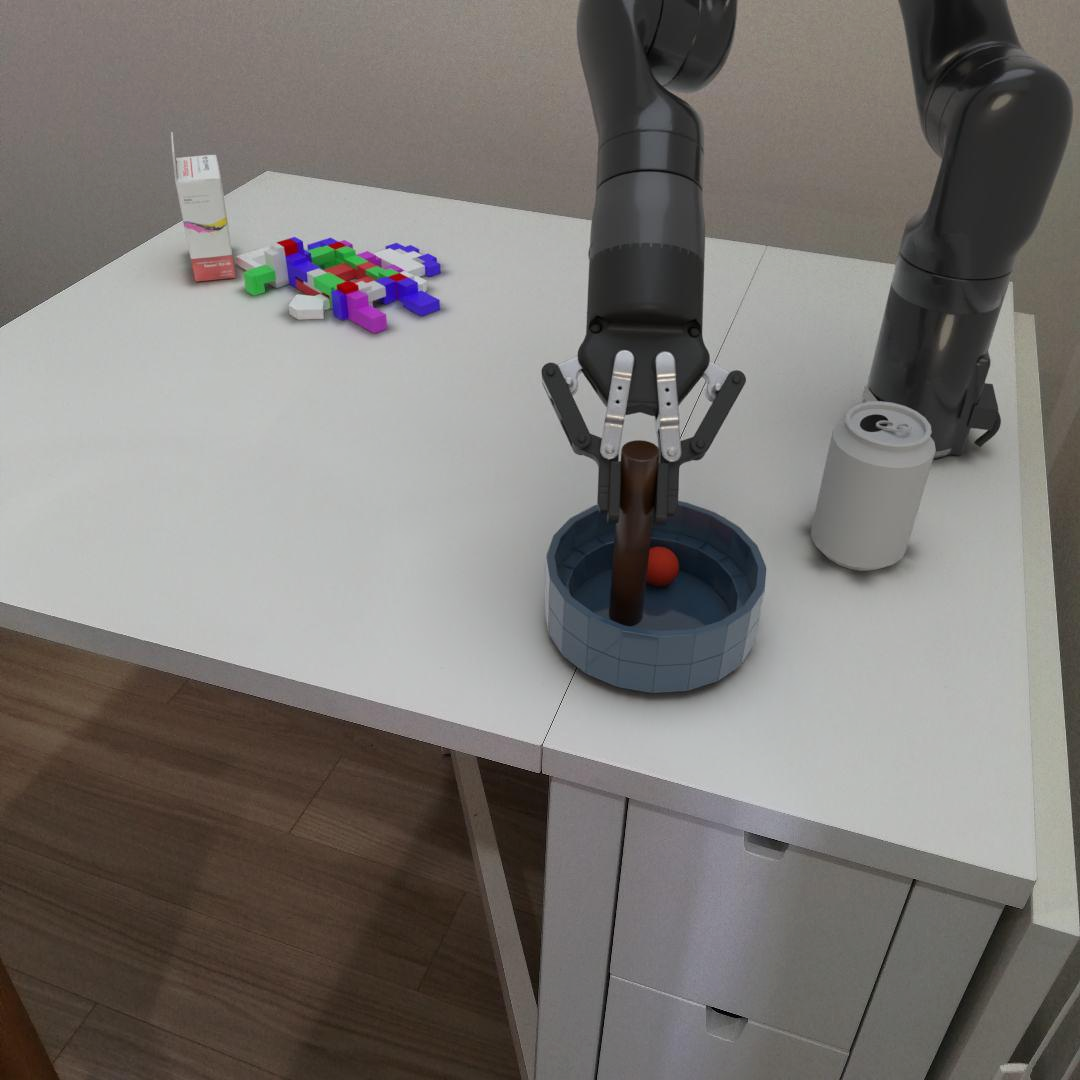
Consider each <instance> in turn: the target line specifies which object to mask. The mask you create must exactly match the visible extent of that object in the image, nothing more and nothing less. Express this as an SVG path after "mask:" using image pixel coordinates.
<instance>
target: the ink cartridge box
mask: <svg viewBox="0 0 1080 1080" xmlns="http://www.w3.org/2000/svg"><path fill="white" fill-rule="evenodd" d="M170 142H171V155H172V156H171V157H172V164H173V175H174V181H175V188H176V192H177V198H178V203H179V207H180V213H181V217H182V223H183V227H184V234H185V238H186V244H187V248H188V252H189V257H190V262H191V268H192V272H193V277H194V281H195V282H205V281H215V280H223V279H224V280H225V279H236V278H237V274H236V268H235V262H234V256H233V249H232V243H231V235H230V229H229V222H228V214H227V209H226V202H225V195H224V190H223V189H224V187H223V181H222V175H221V171H220V166H219V162H218V157H217V155H216V154H206V155H195V156H193V155H192V156H183V157H176V155H175V144H174V133H173V131H171V132H170Z"/></svg>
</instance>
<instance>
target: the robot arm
mask: <svg viewBox="0 0 1080 1080" xmlns="http://www.w3.org/2000/svg"><path fill="white" fill-rule="evenodd" d="M897 2H898V5H899V9H900V13H901V17H902V22H903V27H904V32H905V39H906V46H907V51H908V57H909V64H910V71H911V78H912V84H913V85H912V86H913V91H914V92H913V93H914V98H915V105H916V111H917V117H918V121H919V126H920V129H921V132H922V134H923V137H924V139H925V141H926V143H927V144H928V145H929V147H930V148H931V150H932V151H933V152H934V153H935V154H936V155H937V156H938V157H939V158H940V159H941V161H940V162H941V163H940V167H939V170H938V172H937V173H938V174H937V177H936V180H935V184H934V187H933V191H932V194H931V197H930V200H929V204H928V205H927V207H925V208H922V209H920V210H918V211H916V212H915V213H913V214H911V216H910V217H909V218H908V219H907V221H906V223H905V226H904V229H903V232H902V237H901V240H900V245H899V250H898V253H897V258H896V262H895V266H894V269H893V270H894V271H893V273H892V279H891V283H890V288H889V291H888V294H887V295H888V296H887V300H886V303H885V308H884V312H883V316H882V321H881V325H880V328H879V333H878V337H877V342H876V345H875V350H874V354H873V359H872V363H871V367H870V371H869V375H868V379H867V384H864V389H863V393H862V399H863V400H862V403H865V402H874V401H882V402H890V403H896V404H899V405H903V406H906V407H908V408H910V409H913V410H915V411H917V412H918V413H919V414H921V415H922V416H924V417H925V418H926V420H927V421H928V422H929V424H930V425H931V431H932V433H931V435H930V437H931V438H932V439H933V441H934V442H935V449H936V451H935V454H934V458H933V459H937V458H942V457H946V456H948V455H954V456H963V453H964V449H965V446H966V443H967V440H968V437H969V434H970V430H971V429H977V430H985V432H984V433H983V434H982V435H980V436H979V437H977V438H976V439H975V440H974V441H973V443H974V444H975V446H977V447H979V448H982V446H983V445H985V444H986V443H987V442H989V441H990V440H991V439H992V438H993V437H994V436H995V435H996V434H997V433H998V432H999V429H1000V427H1001V424H1002V418H1001V414H1000V411H999V406H998V405H999V404H998V402H997V401H998V400H997V397H996V392H995V388H994V384H993V383H987V382H986V380H987V377H988V375H989V371H990V368H991V363H992V362H991V361H992V360H991V357H990V353H989V349H990V346H991V342H992V340H993V336H994V332H995V329H996V326H997V322H998V319H999V316H1000V313H1001V311H1002V307H1003V304H1004V301H1005V296H1006V294H1007V290H1008V288H1009V284H1010V281H1011V277H1012V275H1013V271H1014V268H1015V266H1016V263H1017V260H1018V257H1019V254H1020V252H1021V251H1022V249H1024V247H1025V246H1026V245H1027V244H1028V242H1029V241H1030V240H1031V239H1032V237H1033V236H1034V234H1035V232H1036V230H1037V229H1038V227H1039V224H1040V221H1041V219H1042V217H1043V214H1044V212H1045V208H1046V207H1047V204H1048V202H1049V201H1048V200H1049V198H1050V195H1051V192H1052V190H1053V187H1054V184H1055V182H1056V179H1057V176H1058V174H1059V170H1060V169H1061V165H1062V163H1063V159H1064V156H1065V155H1066V150H1067V147H1068V143H1069V141H1070V137H1071V134H1072V133H1071V132H1072V128H1073V121H1074V99H1073V95H1072V92H1071V88H1070V87H1069V85H1068V83H1067V82H1066V80H1065V79H1064V78H1063V77H1062V76H1061V75H1060V73H1058V72H1057V71H1055V70H1054V69H1053V68H1051V67H1050V66H1048V65H1046V64H1045V63H1043V62H1042V61H1040V60H1039V59H1037V58H1036V57H1034V56H1033V55H1031V54H1029V53H1028V52H1026V50H1025V48H1024V47H1023V45H1022V43H1021V41H1020V38H1019V36H1018V33H1017V31H1016V28H1015V25H1014V21H1013V18H1012V16H1011V12H1010V8H1009V4H1008V0H897ZM738 4H739V0H579V2H578V6H577V14H576V42H577V49H578V54H579V59H580V64H581V69H582V72H583V76H584V81H585V84H586V88H587V92H588V96H589V100H590V105H591V109H592V110H591V111H592V114H593V120H594V124H595V128H596V133H597V160H596V161H597V162H596V186H595V200H594V207H593V213H592V218H591V224H590V235H589V237H590V238H589V248H588V280H587V304H586V324H585V325H586V327H585V328H586V329H585V336H584V339H583V341H582V342H581V344H580V345H579V347H578V350H577V355H576V356H573V357H571V358H569V359H566V360H565V361H563V362H562V361H561V362H560V363H558V364H557V363H555V362H546V363H545V364H544V365H543V366H542V368H541V384H542V387H543V389H544V391H545V393H546V395H547V397H548V400H549V402H550V404H551V406H552V408H553V410H554V412H555V414H556V417H557V419H558V421H559V423H560V425H561V428H562V431H563V433H564V434H565V435H566V439H567V441H568V442H569V444H570V447H571V450H572V451H573V452H574V454H575V455H578V456H584V457H587V458H588V459H591V460H592V461H594V462H595V463H596V465H597V468H598V473H597V474H598V476H597V497H596V498H597V499H596V500H597V501H596V505H597V507H598V510H599V512H600V513H602V514H607V523H618V522H619V514H620V489H621V464H622V463H621V460H620V459H619V457H620V449H621V442H622V436H623V432H624V431H623V430H624V423H625V419H626V416H630V415H634V414H639V413H640V414H643V415H647V416H651V417H654V428H655V434H656V441H657V442H656V444H657V447H658V448H659V451H660V455H659V463H658V470H657V480H656V489H655V499H654V515H653V524H654V525H665V524H666V522H667V516H668V517H672V516H673V515H674V514H675V512H676V509H677V507H678V501H679V489H680V488H679V487H680V467H681V466H682V465H683V464H685V463H688V462H691V461H695V462H696V461H700V460H702V459H703V458H704V457H705V455H706V453H707V452H708V450H709V449H710V447H711V446H712V444H713V442H714V440H715V438H716V437H717V435H718V433H719V431H720V429H721V428H722V426H723V424H724V422H725V421H726V419H727V417H728V415H729V414H730V412H731V410H732V408H733V406H734V404H735V403H736V401H737V399H738V398H739V395H740V394H741V393H742V391H743V388H744V386H745V385H746V382H747V378H746V374H745V373H744V372H743V371H741V370H737V369H736V370H735V369H734V370H732V371H729V370H727V369H725V368H724V367H722V366H720V365H718V364H717V363H715V362H713V361H711V357H710V353H709V350H708V348H707V347H706V345H705V341H704V338H703V321H704V295H705V294H704V293H705V292H704V291H705V290H704V289H705V253H706V220H705V212H704V211H705V210H704V202H703V201H704V200H703V199H704V196H703V195H704V194H703V187H704V161H705V160H704V155H705V129H704V124H703V121H702V117H701V116H700V114H699V112H698V111H697V110H696V109H695V108H694V107H693V106H692V105H691V104H689V103H688V102H687V101H686V100H684V99H682V98H681V97H679V96H678V95H676V94H675V93H680V94H693V93H697V92H699V91H701V90H703V89H704V88H706V87H708V86H709V85H710V84H711V83H712V82H713V81H714V80H715V79H716V77H718V75H719V74H720V72H721V71H722V70H723V68H724V66H725V64H726V63H727V60H728V58H729V56H730V53H731V51H732V47H733V43H734V39H735V35H736V29H737V20H738V19H737V18H738ZM671 91H672V92H671ZM673 92H675V93H673ZM581 374H583V375H584V378H586V380H587V382H588V383H589V384H590V386H591V387H592V389H593V390H594V392H595V393H596V395H597V397H598V398H599V399H600V400H601V402H602V403H603V405H604V406H605V407H606V411H605V418H604V422H603V424H604V425H603V429H602V435H601V437H600V436H597V435H595V434H593V433H590V431H589V428H588V426H587V424H586V422H585V420H584V418H583V415H582V413H581V411H580V409H579V406H578V405H577V403H576V400H575V398H574V395H576V394H577V393H578V390H579V380H578V377H579V376H580V375H581ZM702 378H703V380H704V381H705V383H706V388H705V391H704V395H705V398H706V399H707V400H708V401H709V402H711V405H710V407H709V408H708V409H707V411H706V414H705V416H704V417H703V419H702V421H701V423H700V424H699V426H698V428H697V429H696V432H695V433H694V435H693V436H692V437H688V438H685V439H682V440H681V431H680V409H679V406H680V405H681V403H682V402H683V401H684V400H685V398H686V397H688V395H689V394H690V392H691V391H692V390H693V388H695V386H696V384H698V383H699V381H700V380H701V379H702ZM619 460H620V461H619Z"/></svg>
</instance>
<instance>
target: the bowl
mask: <svg viewBox="0 0 1080 1080" xmlns="http://www.w3.org/2000/svg"><path fill="white" fill-rule="evenodd" d="M653 515H654V512H653ZM615 527H616V523H607V514H602V513H600V512H599V510H598V507H597V504H595V505H593V506H590V507H589V508H587V509H585V510H583V511H581V512H579V513H577V514H575V515H573V516H571V517H570V518H568V520H567V521H565V523H564V524H563V525H562V526H561V527H560V528H559V529H558V530H557V531H556V532H555V533H554V534H553V536H552V538H551V541H550V543H549V547H548V550H547V552H546V555H545V583H544V584H545V586H544V587H545V588H544V616H545V621H546V623H545V624H546V628H547V629H546V630H547V634H548V635H549V636H550V638H551V640H552V642H553V643H554V645H555V646H556V648H557V650H558V651H559V652H560V654H561V656H563V657H564V658H565V659H566V660H568V661H569V663H572V665H574V666H575V667H576V668H578V669H580V670H581V672H583V673H584V674H586V675H588V676H590V677H593V678H596V679H597V680H600V681H602V682H604V683H606V684H609V685H611V686H614V687H617V688H621V689H627V690H633V691H639V692H645V693H650V694H651V693H654V694H655V693H656V694H659V693H673V692H674V693H675V692H687V691H691V690H694V689H698V688H701V687H704V686H707V685H709V684H714V683H716V682H719V681H721V680H722V679H723V678H725V677H726V676H728V675H729V674H731V673H732V672H733V671H734V670H736V669H738V668H739V667H741V666H742V664H743V662H744V661H745V659H746V657H747V656H748V655H749V653H750V652H751V649H753V646H754V645H755V640H756V637H757V631H758V625H759V621H760V615H761V612H762V611H761V610H762V605H763V601H764V595H765V591H766V581H767V565H766V563H765V560H764V558H763V556H762V552H761V550H760V548H759V546H758V545H757V544H756V543H755V541H753V539H752V538H751V537H750V536H749V535H748V534H747V533H746V532H745V531H744V530H743V529H742V528H741V527H740V526H738V525H737V524H735V523H734V522H732V521H730V520H729V519H727V518H726V517H724V516H722V515H720V514H719V513H717V512H715V511H712V510H711V509H710V510H709V509H707V508H704V507H701V506H698V505H695V504H692V503H689V502H687V501H682V500H681V501H680V500H678V507H677V509H676V512H675V514H674V515H673V516H672V517H668V516H667V522H666V524H665V525H654V524H653V522H652V531H651V541H650V549H651V548H653V547H665V548H667V549H669V550H671V551H672V552H673V553H674V554H675V555H676V557H677V559H678V562H679V571H678V574H677V576H676V578H675V579H674V580H673V581H672V582H671V583H670V584H668V585H666V586H662V587H656V586H652V585H650V584H648V583H647V582H646V589H645V598H644V608H643V617H642V620H641V621H640V622H639V623H638V624H637V625H635V626H625V625H622V624H620V623H617V622H615V621H612V620H611V619H610V617H609V604H610V591H611V578H612V565H613V552H614V539H615Z"/></svg>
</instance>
